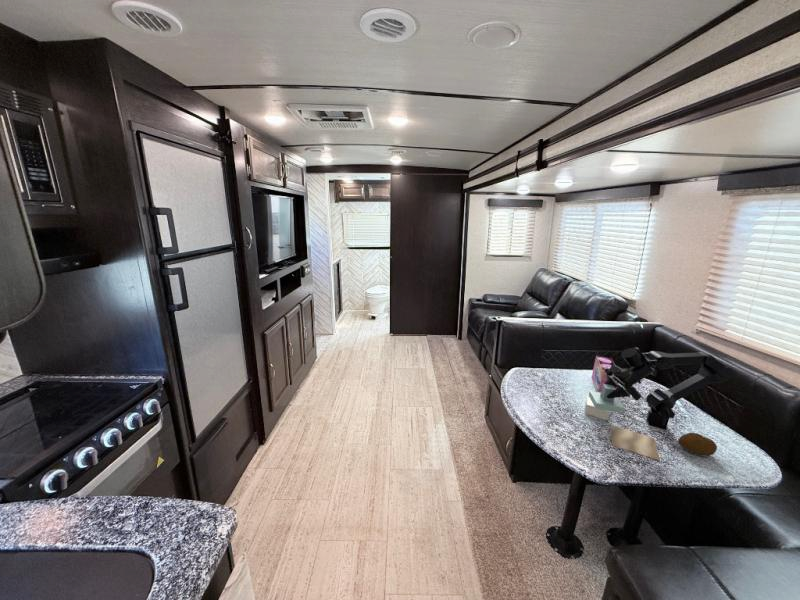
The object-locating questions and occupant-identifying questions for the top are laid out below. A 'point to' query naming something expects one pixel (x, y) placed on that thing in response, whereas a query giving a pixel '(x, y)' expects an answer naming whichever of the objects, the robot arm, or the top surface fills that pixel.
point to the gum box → (601, 371)
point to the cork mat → (634, 442)
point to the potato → (697, 444)
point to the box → (595, 410)
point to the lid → (606, 400)
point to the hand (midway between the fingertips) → (604, 394)
